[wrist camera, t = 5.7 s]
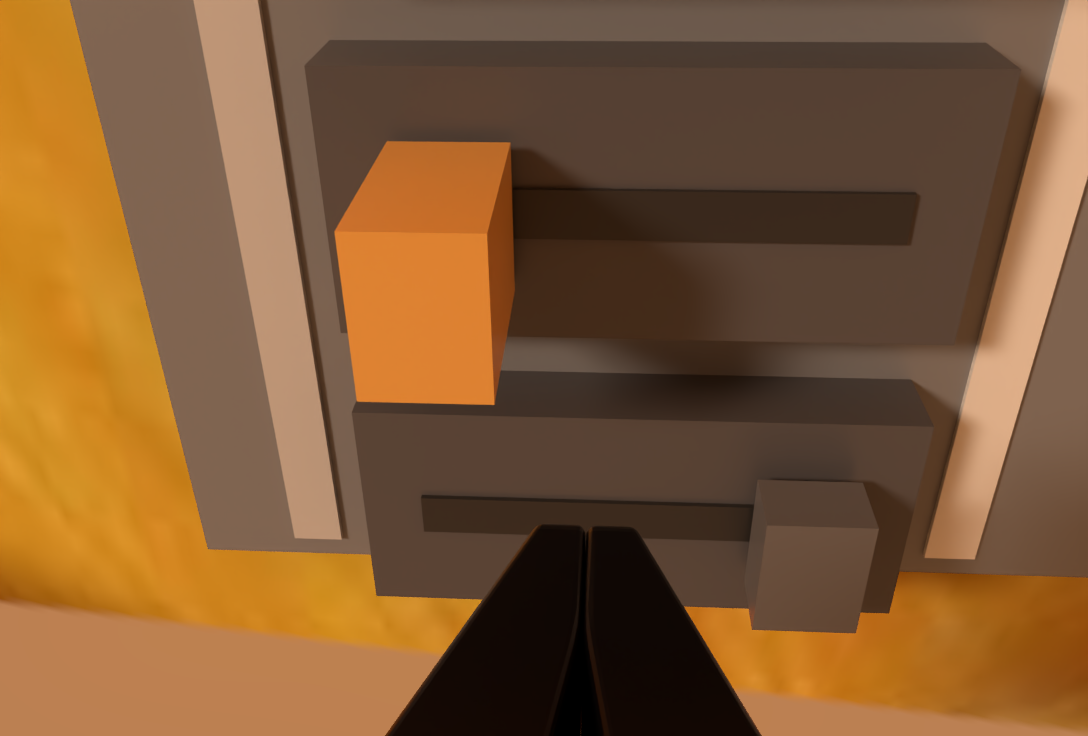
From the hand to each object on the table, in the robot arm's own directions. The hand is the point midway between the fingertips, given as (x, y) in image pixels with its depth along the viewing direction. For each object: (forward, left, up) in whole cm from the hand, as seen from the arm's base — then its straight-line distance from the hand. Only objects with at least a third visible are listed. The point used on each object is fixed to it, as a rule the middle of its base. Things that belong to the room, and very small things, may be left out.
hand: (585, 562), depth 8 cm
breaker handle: (0, +2, -7) cm, 8 cm away
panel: (0, -2, -11) cm, 11 cm away
